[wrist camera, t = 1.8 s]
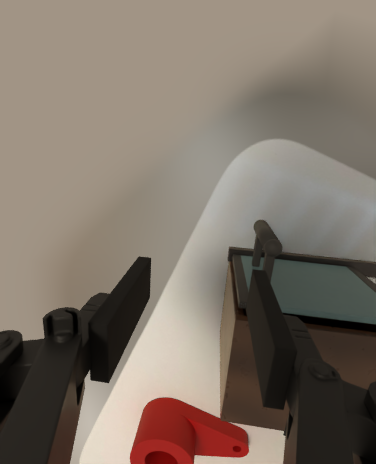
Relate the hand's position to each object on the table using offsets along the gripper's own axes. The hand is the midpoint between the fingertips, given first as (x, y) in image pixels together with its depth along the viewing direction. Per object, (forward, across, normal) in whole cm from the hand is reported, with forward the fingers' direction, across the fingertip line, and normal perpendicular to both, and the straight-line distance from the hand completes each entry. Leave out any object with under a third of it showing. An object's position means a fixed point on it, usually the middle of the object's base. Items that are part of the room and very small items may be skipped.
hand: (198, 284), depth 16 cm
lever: (+19, +1, -36) cm, 41 cm away
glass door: (+18, +11, -2) cm, 21 cm away
